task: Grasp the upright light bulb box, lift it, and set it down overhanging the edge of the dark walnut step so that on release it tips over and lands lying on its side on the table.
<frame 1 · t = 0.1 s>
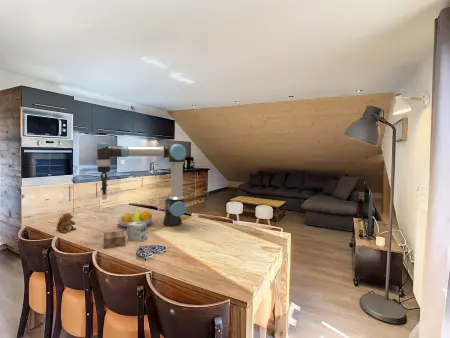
hand: (104, 197, 163), 28 cm above the table, fingers open, 13 cm apart
fruit bowl: (136, 224, 195), on the table
walnut step: (114, 243, 155), on the table
stuffed squirrel: (65, 230, 179), on the table
light bulb box: (137, 239, 164), on the table
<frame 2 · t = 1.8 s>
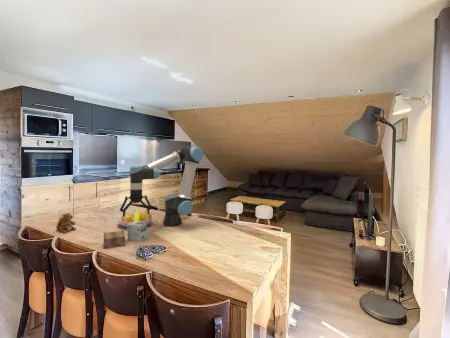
hand: (136, 220, 163), 13 cm above the table, fingers open, 13 cm apart
nothing on the table moved.
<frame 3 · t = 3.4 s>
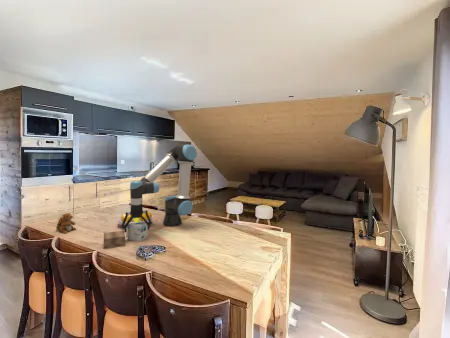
hand: (137, 235, 164), 2 cm above the table, fingers closed on light bulb box, 12 cm apart
light bulb box: (137, 239, 164), on the table, touching gripper
everything else where it was.
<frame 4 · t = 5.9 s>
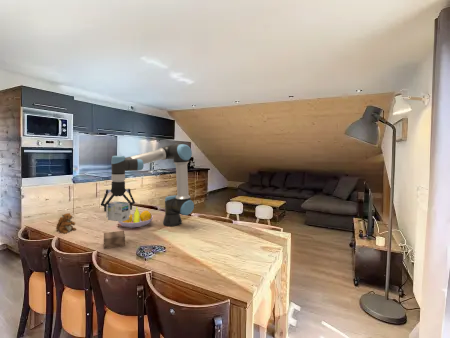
hand: (118, 216, 149), 19 cm above the table, fingers closed on light bulb box, 12 cm apart
light bulb box: (118, 220, 149), point 17 cm above the table, touching gripper
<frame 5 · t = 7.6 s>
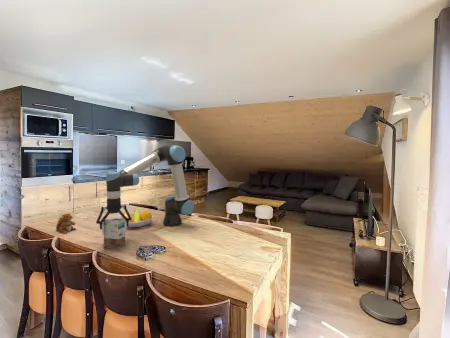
hand: (114, 233, 147), 10 cm above the table, fingers closed on light bulb box, 12 cm apart
light bulb box: (114, 237, 147), point 7 cm above the table, touching gripper
when the fingers open (10 cm above the table, at t = 8.5 s): light bulb box drops 4 cm, point 3 cm above the table.
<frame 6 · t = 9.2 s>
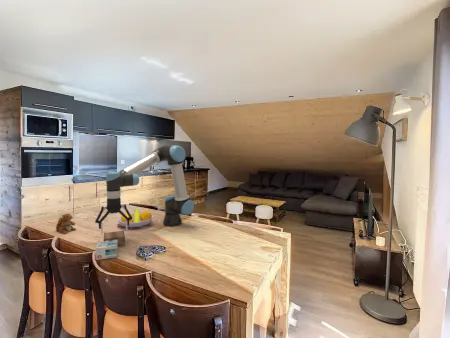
hand: (114, 232, 147), 10 cm above the table, fingers open, 13 cm apart
light bulb box: (107, 245, 144), point 3 cm above the table
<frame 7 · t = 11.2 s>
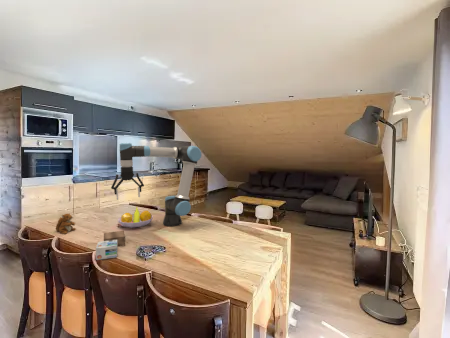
hand: (128, 198, 162), 28 cm above the table, fingers open, 13 cm apart
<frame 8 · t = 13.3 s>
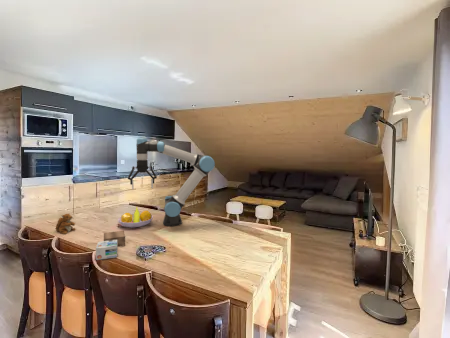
hand: (142, 188, 178), 32 cm above the table, fingers open, 13 cm apart
at the end: light bulb box tilted 89°; light bulb box inside the target area (5.9 cm from its centre), point 3.2 cm above the table; the gripper is holding nothing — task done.
